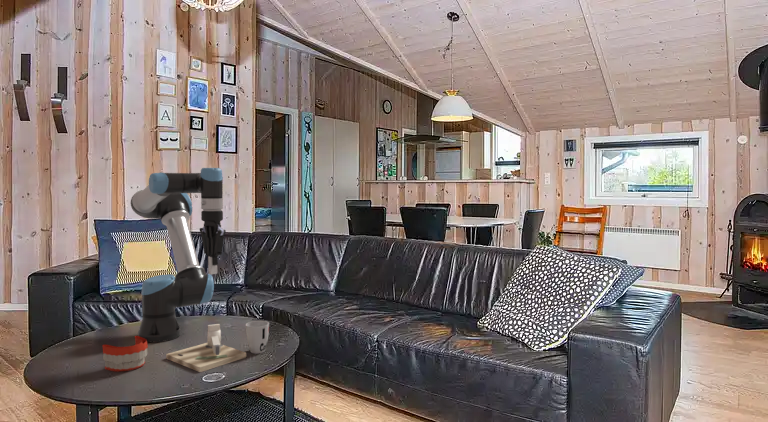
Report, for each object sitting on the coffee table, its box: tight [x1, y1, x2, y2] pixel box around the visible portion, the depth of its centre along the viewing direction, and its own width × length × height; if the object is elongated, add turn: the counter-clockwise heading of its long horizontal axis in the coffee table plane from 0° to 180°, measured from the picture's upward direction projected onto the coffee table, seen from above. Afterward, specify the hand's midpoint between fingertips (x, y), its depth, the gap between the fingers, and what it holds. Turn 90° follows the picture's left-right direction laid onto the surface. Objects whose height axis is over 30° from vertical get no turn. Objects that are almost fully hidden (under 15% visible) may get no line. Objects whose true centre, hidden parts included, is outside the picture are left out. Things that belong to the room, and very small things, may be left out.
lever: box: [206, 323, 222, 355], centre depth 183 cm, size 17×5×7 cm, turn 22°
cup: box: [245, 320, 270, 355], centre depth 187 cm, size 8×8×10 cm
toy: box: [101, 335, 149, 373], centre depth 171 cm, size 12×10×8 cm
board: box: [165, 342, 247, 373], centre depth 181 cm, size 20×18×2 cm
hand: (213, 273), depth 194 cm, fingers closed
